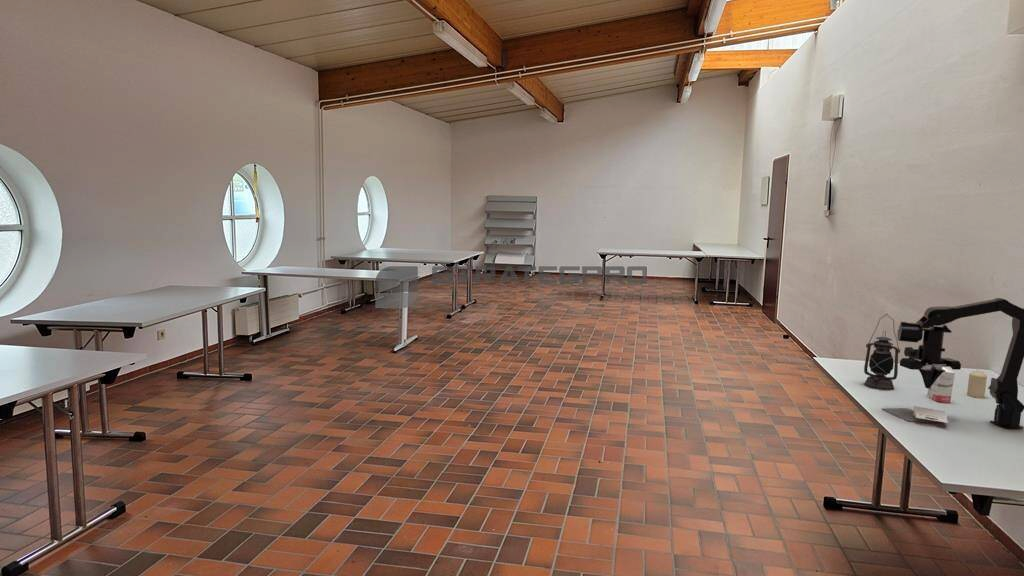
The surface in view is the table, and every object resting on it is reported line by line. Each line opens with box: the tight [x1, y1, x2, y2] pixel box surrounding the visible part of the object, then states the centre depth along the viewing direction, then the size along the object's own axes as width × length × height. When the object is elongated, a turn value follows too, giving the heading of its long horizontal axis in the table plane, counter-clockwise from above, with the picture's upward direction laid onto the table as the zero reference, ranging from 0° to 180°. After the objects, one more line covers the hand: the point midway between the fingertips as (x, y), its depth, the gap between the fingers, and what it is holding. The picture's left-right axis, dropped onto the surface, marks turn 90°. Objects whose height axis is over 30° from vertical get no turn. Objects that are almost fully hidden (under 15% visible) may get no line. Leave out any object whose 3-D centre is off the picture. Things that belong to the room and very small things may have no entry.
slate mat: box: [881, 407, 937, 423], centre depth 216 cm, size 13×10×1 cm
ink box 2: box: [913, 405, 949, 424], centre depth 210 cm, size 3×9×12 cm
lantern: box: [863, 313, 901, 391], centre depth 250 cm, size 12×11×30 cm
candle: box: [966, 370, 988, 399], centre depth 242 cm, size 6×6×10 cm
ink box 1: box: [926, 366, 955, 404], centre depth 236 cm, size 9×5×12 cm, turn 168°
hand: (927, 388), depth 215 cm, fingers closed
